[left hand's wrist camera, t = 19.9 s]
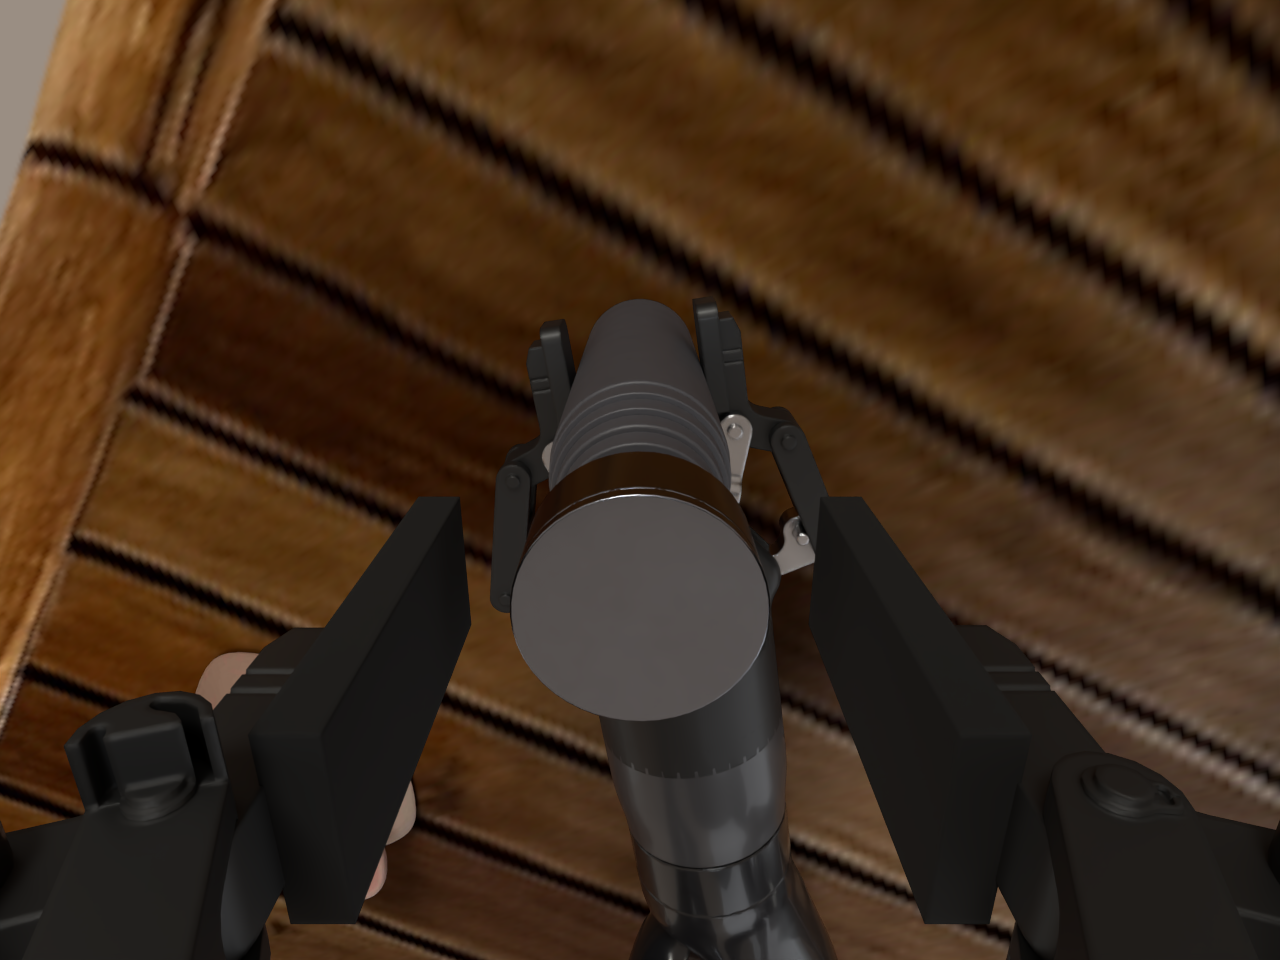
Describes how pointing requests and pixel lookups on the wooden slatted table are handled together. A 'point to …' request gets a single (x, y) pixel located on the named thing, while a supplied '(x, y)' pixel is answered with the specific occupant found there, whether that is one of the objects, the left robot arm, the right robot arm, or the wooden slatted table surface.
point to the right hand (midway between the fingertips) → (627, 314)
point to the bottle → (640, 395)
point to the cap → (640, 589)
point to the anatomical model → (219, 683)
